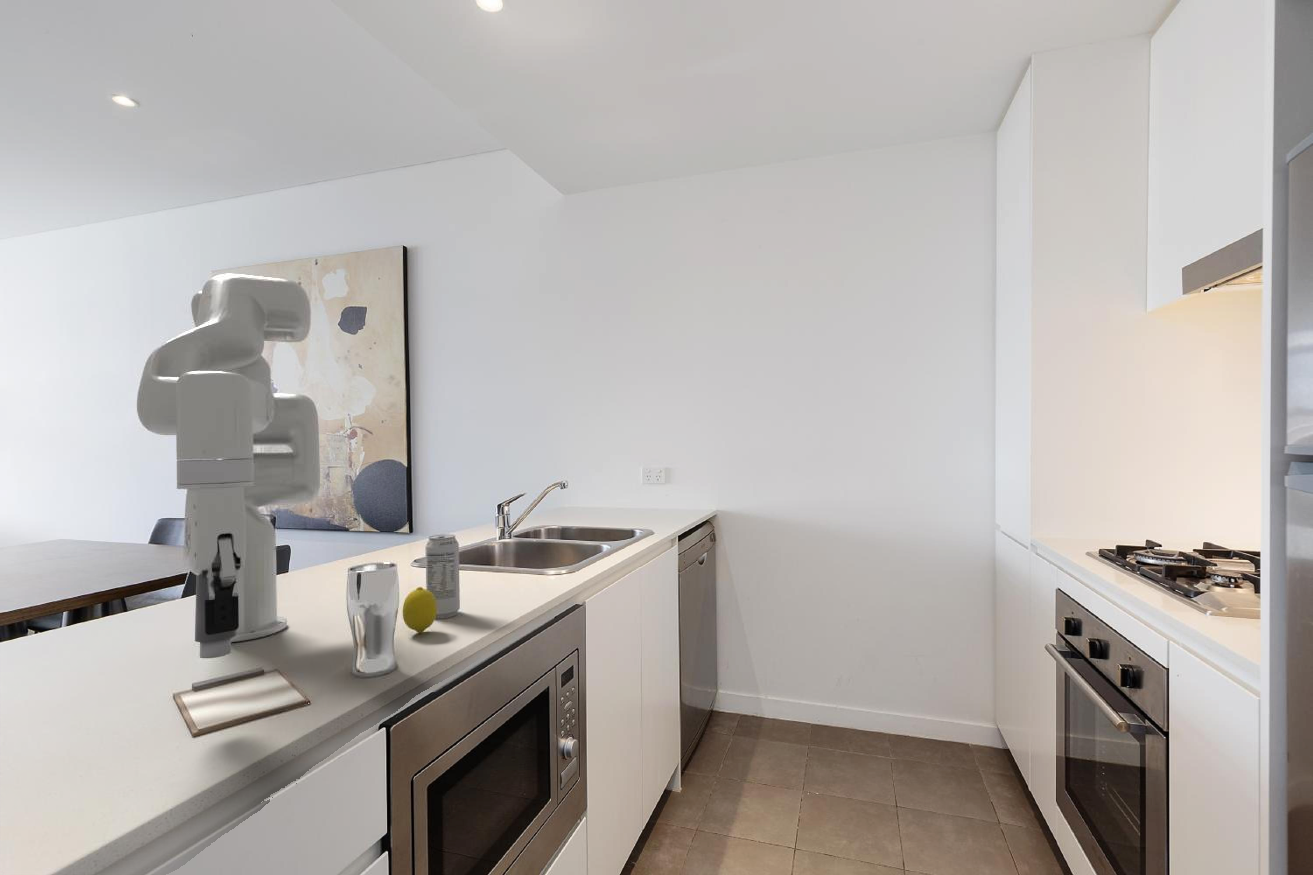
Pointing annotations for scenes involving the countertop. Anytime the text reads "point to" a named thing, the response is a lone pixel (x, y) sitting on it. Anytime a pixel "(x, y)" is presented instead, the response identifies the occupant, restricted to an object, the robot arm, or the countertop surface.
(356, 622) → the beer glass
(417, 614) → the lemon
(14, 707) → the countertop surface
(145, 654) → the countertop surface
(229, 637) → the grey rounded cylinder
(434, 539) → the energy drink can
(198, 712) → the clipboard
